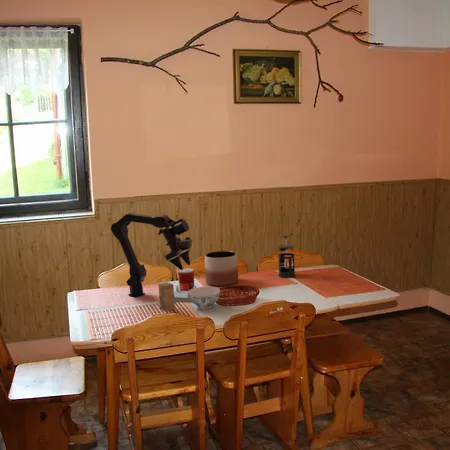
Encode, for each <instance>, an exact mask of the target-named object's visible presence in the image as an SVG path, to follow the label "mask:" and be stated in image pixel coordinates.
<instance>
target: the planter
mask: <svg viewBox="0 0 450 450" xmlns="http://www.w3.org/2000/svg"><path fill="white" fill-rule="evenodd" d="M204 274H205V276H204V277H205V282H206V284H208V285H210V286H212V287H226V286H232V285H235V284H236V283H237V282H238V281H239V267H238V253H237V252H235V251H232V250H215V251H209V252H207V253H205V254H204Z"/></svg>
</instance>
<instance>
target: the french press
mask: <svg viewBox="0 0 450 450" xmlns="http://www.w3.org/2000/svg"><path fill="white" fill-rule="evenodd" d="M282 237H283V238H284V239H285V240H287V239H288V238H289V237H290V235H289V234H284V235H282ZM277 248H278V251H279V252H280V253H279V254H277V256H278V277H279V278H282V279H291V278H295V277H296V268H295V266H296V264H295V253H291V252H287V250H289V249H290V250H292V251H294V248H295V245H294V244H287V243H285V244H280V245H278V247H277Z"/></svg>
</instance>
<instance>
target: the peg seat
mask: <svg viewBox="0 0 450 450" xmlns="http://www.w3.org/2000/svg"><path fill="white" fill-rule="evenodd" d="M194 288H197V286H195V285H194ZM188 292H189V291H180V289H179V284H177V285H176V284H175V290H174V302H183V303H184V302H186V303H187V302H189V303H191V302H192V301H191V299H190V297H189V293H188Z"/></svg>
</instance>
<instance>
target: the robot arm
mask: <svg viewBox="0 0 450 450" xmlns="http://www.w3.org/2000/svg"><path fill="white" fill-rule="evenodd" d="M131 223H137V224H138V223H139V224H147V225H151V226H153V227H155V228H158V229H159V231H158V233H157V235H158V236H160V235H162V236H163V238H164V239H165V242H166V243H165V246H166V247H169V250H170V251H169V252H168V253H166V254H165V257H164V258H165V260H166V261H168V262H169V263H171V264H172V265H174V266H175V267H177V268H178V270H183V269H184V267H183V265H182V262H181V260H180V258H181V259H182V260H183V261H184V263H186V265H187V266H190V265H191V260H190V256H189V255H190V251H191V248H192V246H193V244H192V243H193V240H192V238H191V237H190V236H186V237H185V239H182V238H180V237H178V236H180V235H183V234H184V233H187V232H189V230H190V226H189V224H188V222H187V221H186V220H184V219H183V218H180V219H178V220H174V219H172V218H170V216H169V215H167V214H159V215H157V214H156V215H149V214H148V215H147V214H140V213H133V212H128V213H126V214H125V215H124V216H123V217H122V218H120V219H119V220H117V222H116V221H115V222H113V223H112V224H111V225H110V231H111V233H112V235H113V237H115V238H116V239H117V240H118V242H119V244H120V247H121V248H122V252H123V253H124V256H125V258H126V261H127V263H128V266H129V271H128V273H129V276H130V277H129V278H128V279H127V280H126V285H127V286H129V293H128V294H127V296H128V295H129V296H128V297H133V298H134V297H135V298H139V297H141V296H144V295H145V294H146V292H144V287H143V283H142V282H144V281H145V278H146V277H147V270H146V267H145V264H141V263H139V261H138V257H137V256H136V254H135V250H134V249H133V246H132V243H131V241H130V238H129V229H128V226H129V225H130V224H131Z"/></svg>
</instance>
